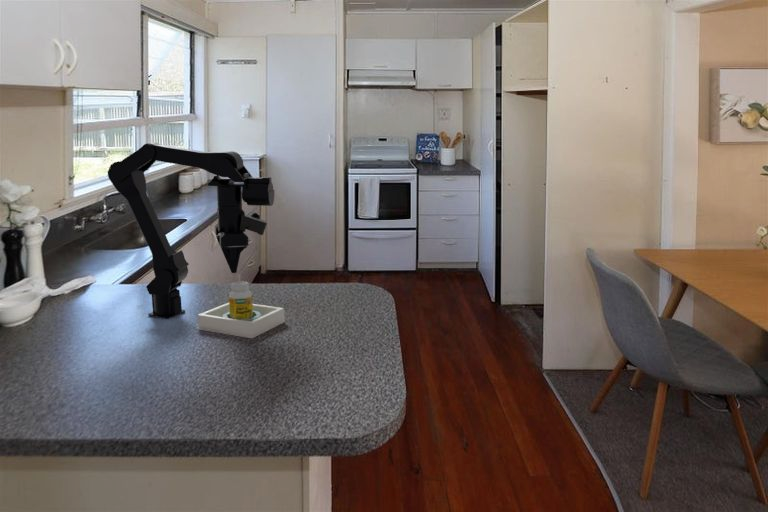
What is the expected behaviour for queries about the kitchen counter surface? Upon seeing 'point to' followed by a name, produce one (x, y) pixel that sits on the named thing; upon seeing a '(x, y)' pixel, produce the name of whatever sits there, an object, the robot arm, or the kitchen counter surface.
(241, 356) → the kitchen counter surface
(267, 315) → the socket box
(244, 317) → the supplement bottle
